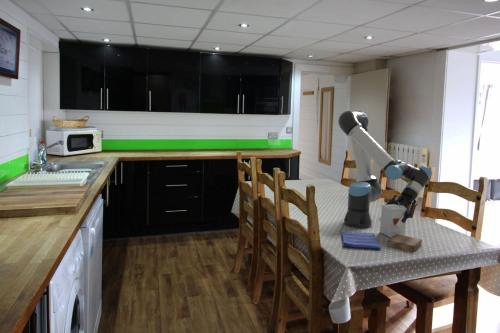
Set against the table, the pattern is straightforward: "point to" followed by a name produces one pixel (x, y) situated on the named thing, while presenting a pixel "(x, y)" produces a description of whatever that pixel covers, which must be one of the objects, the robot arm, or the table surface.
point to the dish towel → (359, 240)
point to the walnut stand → (405, 242)
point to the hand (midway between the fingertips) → (388, 223)
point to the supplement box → (392, 220)
